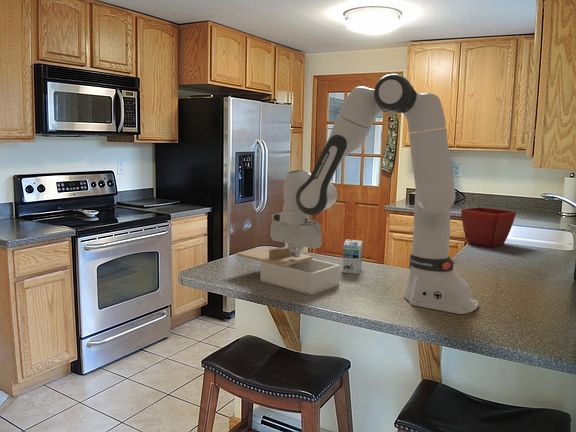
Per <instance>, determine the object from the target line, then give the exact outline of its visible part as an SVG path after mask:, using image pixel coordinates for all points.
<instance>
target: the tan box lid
mask: <svg viewBox="0 0 576 432" xmlns="http://www.w3.org/2000/svg"><path fill="white" fill-rule="evenodd" d="M294 249H295V251H296V246H294ZM235 255H236V256H238V257H242V258H246V259H252V260H255V261H259V262H261V261H262V262H266V263H270V264H274V265H278V266H282V267H283V266H287V265H291V264H294V263H298V262H302V261H306V260H309V259H313V256H312V255H308V254H303V253H302V254H300V257H299V258H295V257H291V256H290V250H289V248H288V246H287V247H285V246H284V247H278V248H275V247H271V246H262V247H257V248H253V249H248V250H244V251H239V252H236V254H235Z"/></svg>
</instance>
